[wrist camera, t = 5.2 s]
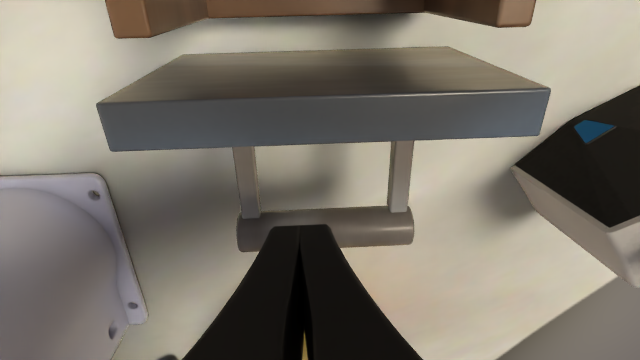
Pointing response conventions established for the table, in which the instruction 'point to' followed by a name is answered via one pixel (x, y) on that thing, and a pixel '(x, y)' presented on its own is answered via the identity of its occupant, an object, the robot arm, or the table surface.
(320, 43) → the table surface
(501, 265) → the table surface
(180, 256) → the table surface
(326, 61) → the drawer
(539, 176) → the padlock
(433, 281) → the table surface
